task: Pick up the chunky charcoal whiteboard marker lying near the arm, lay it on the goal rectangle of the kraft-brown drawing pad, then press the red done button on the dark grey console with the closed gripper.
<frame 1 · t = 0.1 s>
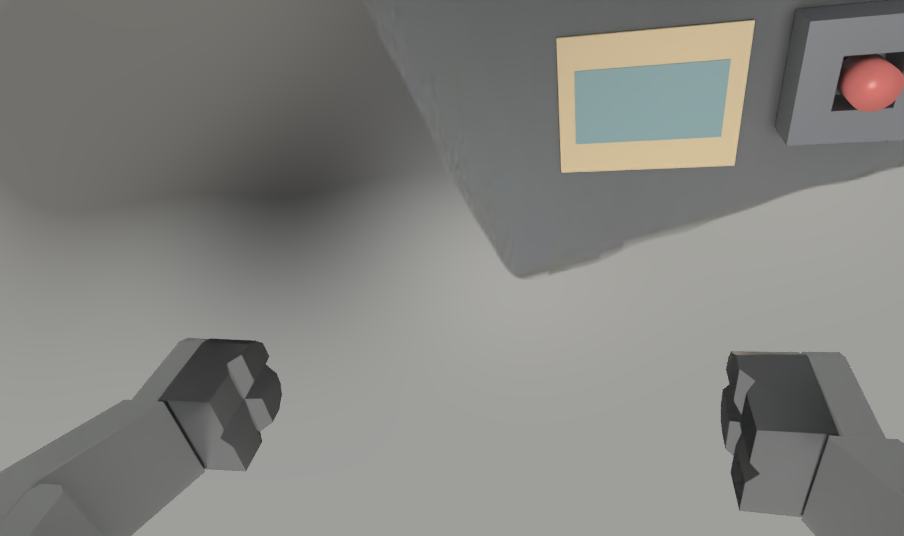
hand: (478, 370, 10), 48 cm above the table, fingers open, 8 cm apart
drawing pad: (648, 102, 54), on the table
done button: (867, 81, 47), point 4 cm above the table, slide at 0.0 cm
button console: (851, 66, 50), on the table
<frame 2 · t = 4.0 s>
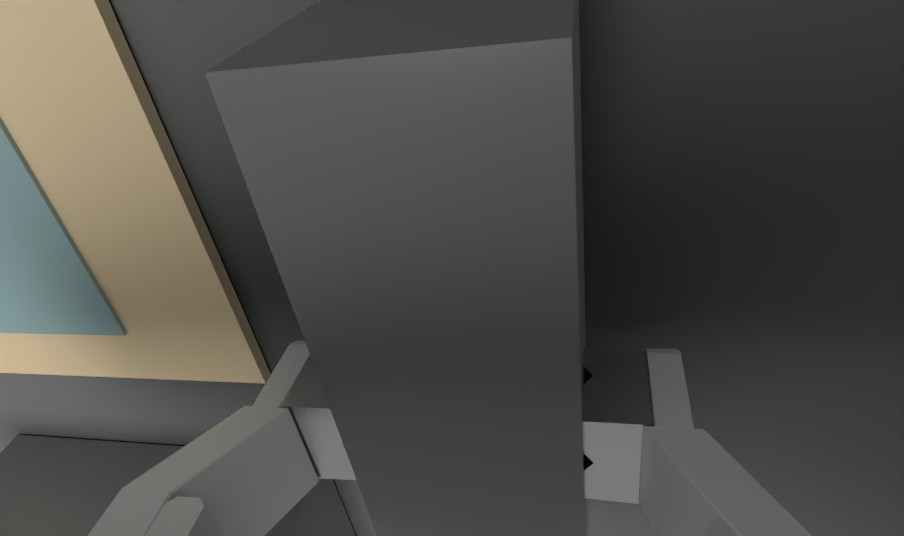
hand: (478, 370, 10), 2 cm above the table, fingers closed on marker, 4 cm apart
marker: (491, 310, 12), on the table, touching gripper
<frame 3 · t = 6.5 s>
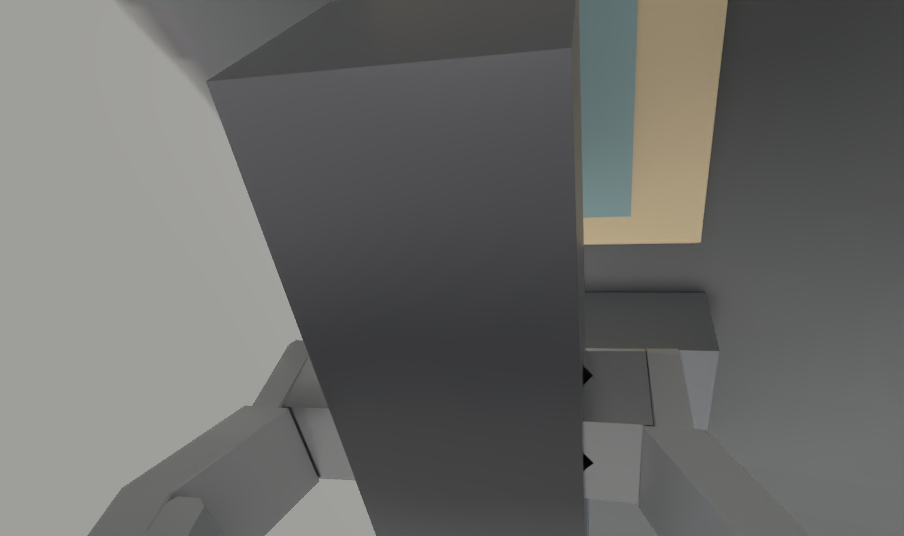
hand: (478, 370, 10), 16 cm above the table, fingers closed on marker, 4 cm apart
drawing pad: (542, 71, 24), on the table
button console: (596, 365, 32), on the table
marker: (491, 314, 12), point 15 cm above the table, touching gripper
when the fingers open (4 cm above the table, at t = 9.0 s): marker drops 2 cm, resting on drawing pad.
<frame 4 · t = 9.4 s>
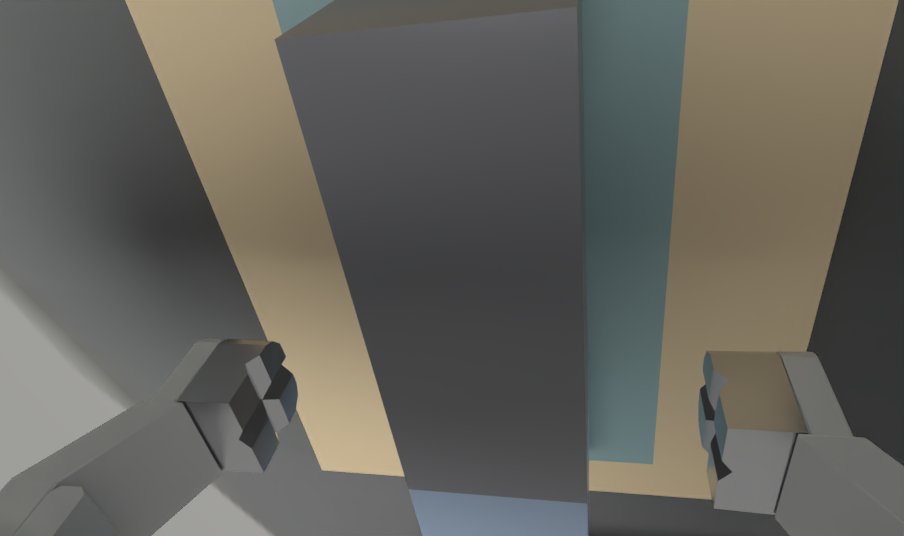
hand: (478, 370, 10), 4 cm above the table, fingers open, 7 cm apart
drawing pad: (501, 255, 13), on the table
marker: (501, 268, 13), resting on drawing pad
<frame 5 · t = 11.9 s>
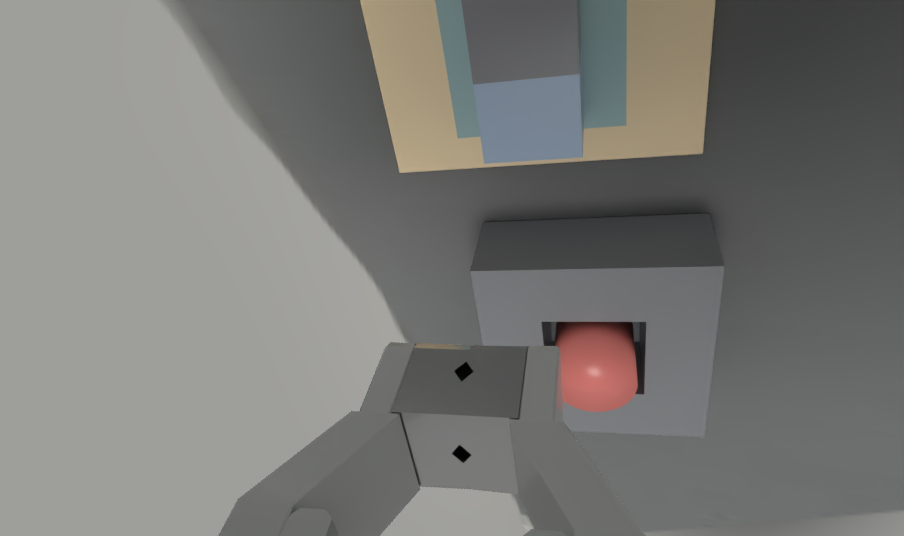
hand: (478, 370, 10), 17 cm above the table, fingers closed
done button: (594, 355, 27), point 4 cm above the table, slide at 0.0 cm
button console: (594, 303, 30), on the table
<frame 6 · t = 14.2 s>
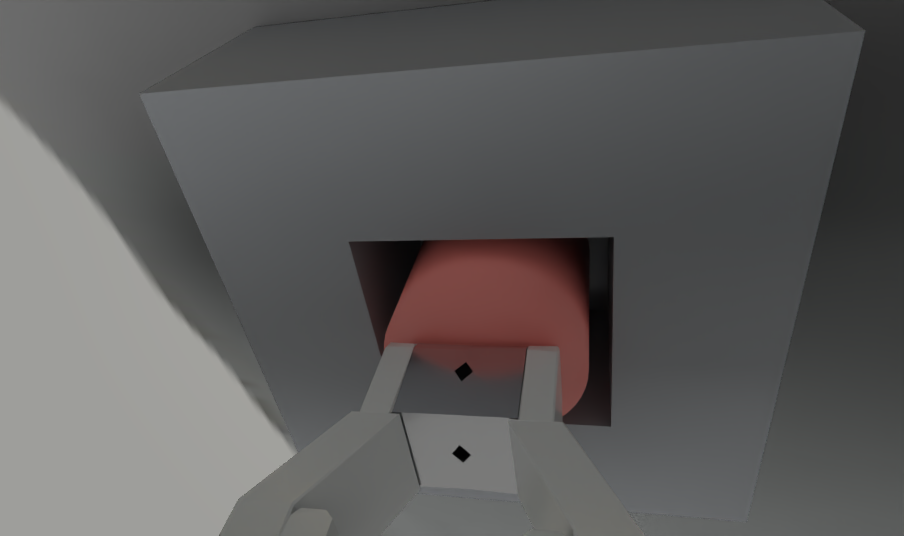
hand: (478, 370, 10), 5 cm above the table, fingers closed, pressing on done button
done button: (496, 302, 12), point 3 cm above the table, slide at 0.8 cm, touching gripper
button console: (511, 226, 14), on the table
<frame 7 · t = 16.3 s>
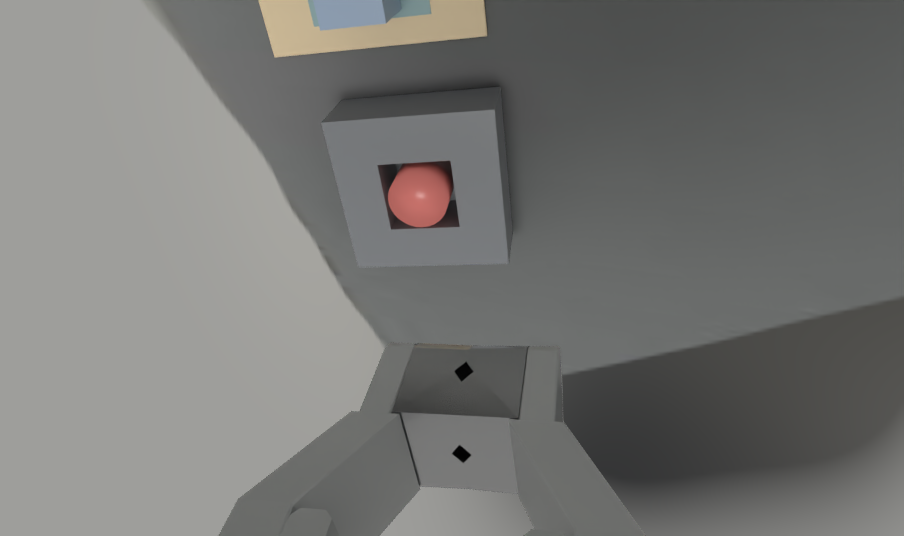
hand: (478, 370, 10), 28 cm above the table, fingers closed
done button: (423, 187, 37), point 3 cm above the table, slide at 0.9 cm
button console: (431, 168, 39), on the table
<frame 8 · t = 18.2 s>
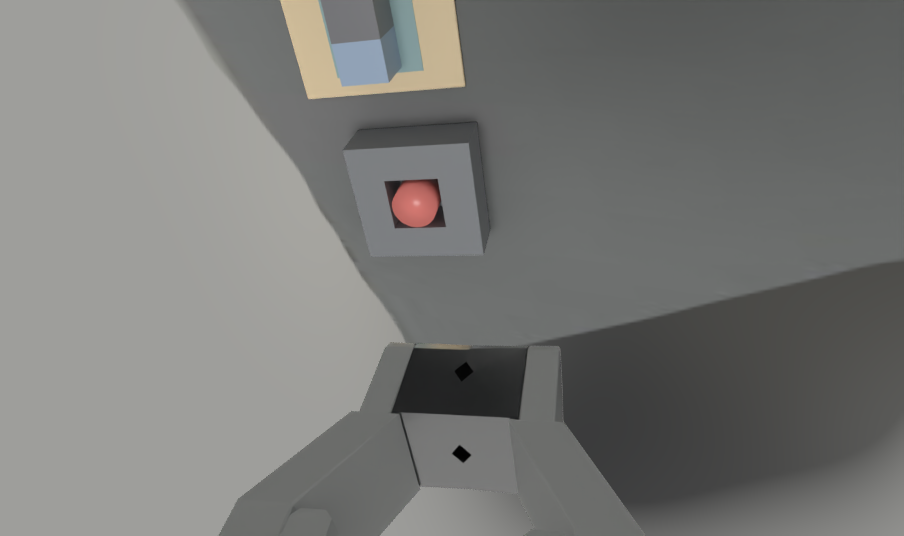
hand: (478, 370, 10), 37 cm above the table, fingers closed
done button: (418, 197, 49), point 3 cm above the table, slide at 0.9 cm
button console: (426, 181, 51), on the table
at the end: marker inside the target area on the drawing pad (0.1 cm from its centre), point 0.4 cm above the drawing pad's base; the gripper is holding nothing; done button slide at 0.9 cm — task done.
